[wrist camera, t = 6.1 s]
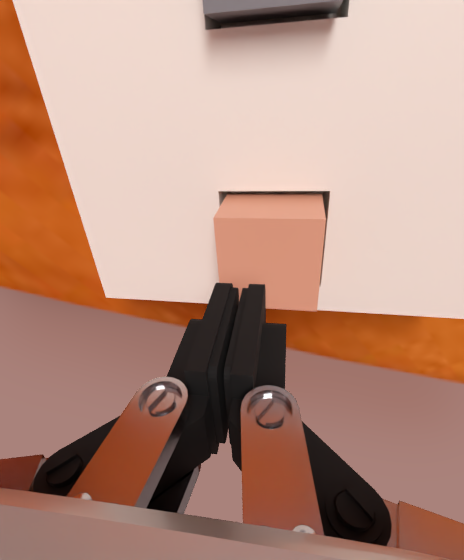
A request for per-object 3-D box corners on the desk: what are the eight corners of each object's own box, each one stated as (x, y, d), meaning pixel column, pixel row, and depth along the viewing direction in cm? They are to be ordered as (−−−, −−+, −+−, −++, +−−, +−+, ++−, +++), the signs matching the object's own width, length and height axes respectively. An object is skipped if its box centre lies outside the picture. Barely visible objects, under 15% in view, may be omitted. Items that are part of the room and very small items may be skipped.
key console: (625, -269, 10) (788, -439, 7) (444, 277, 20) (473, 319, 17) (33, -146, 13) (-56, -215, 10) (133, 264, 24) (106, 297, 20)
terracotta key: (321, 194, 15) (326, 219, 13) (314, 276, 17) (316, 311, 15) (227, 194, 16) (213, 217, 13) (232, 273, 18) (221, 305, 16)
